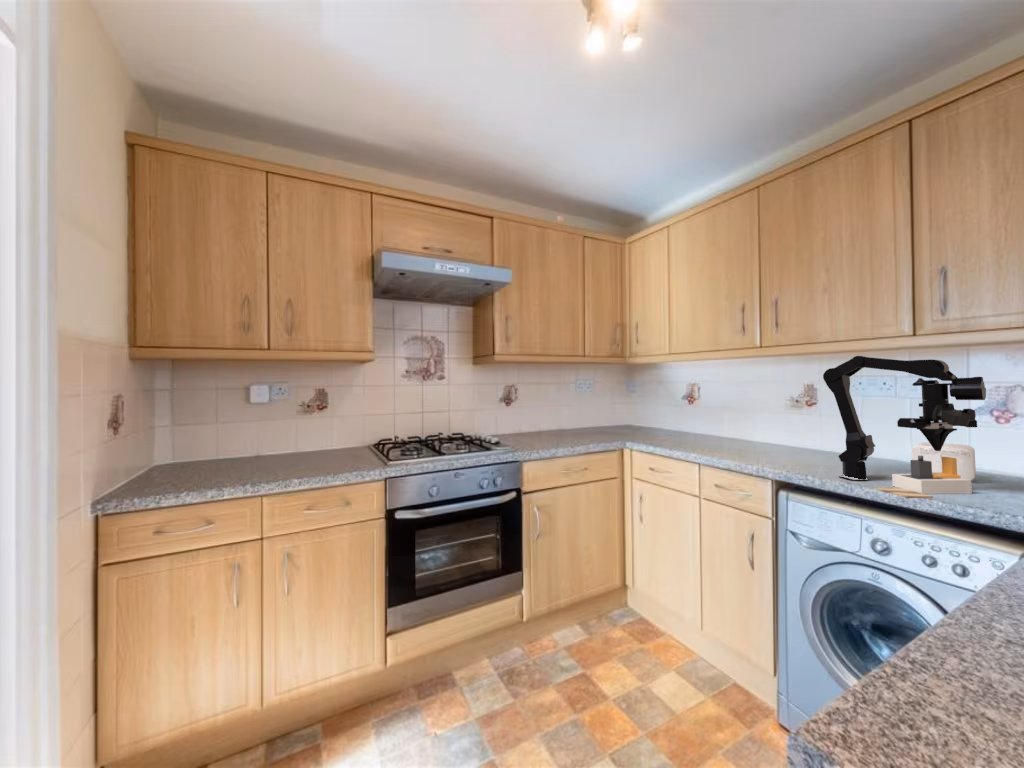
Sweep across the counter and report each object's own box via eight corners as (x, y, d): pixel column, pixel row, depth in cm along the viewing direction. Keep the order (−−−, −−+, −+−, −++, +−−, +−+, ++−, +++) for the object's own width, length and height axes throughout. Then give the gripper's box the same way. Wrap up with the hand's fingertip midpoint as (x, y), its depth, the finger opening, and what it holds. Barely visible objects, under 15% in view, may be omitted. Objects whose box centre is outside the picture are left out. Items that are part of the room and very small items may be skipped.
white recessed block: (892, 486, 133) (892, 474, 133) (938, 486, 132) (938, 473, 132) (921, 494, 123) (921, 480, 123) (971, 493, 122) (971, 480, 122)
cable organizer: (980, 480, 140) (978, 445, 140) (974, 484, 134) (972, 448, 134) (918, 473, 152) (917, 441, 153) (911, 477, 146) (909, 444, 147)
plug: (901, 478, 131) (900, 454, 131) (924, 478, 130) (923, 454, 131) (918, 482, 125) (917, 457, 125) (943, 482, 124) (942, 457, 125)
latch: (921, 475, 130) (920, 456, 130) (944, 474, 130) (943, 456, 130) (936, 478, 125) (935, 458, 125) (960, 478, 125) (959, 458, 125)
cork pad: (875, 489, 130) (875, 487, 130) (899, 489, 129) (899, 487, 129) (907, 497, 119) (906, 496, 119) (932, 497, 118) (932, 496, 118)
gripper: (928, 401, 120) (930, 454, 120) (996, 399, 119) (999, 454, 119) (894, 400, 132) (897, 449, 131) (956, 399, 130) (959, 449, 130)
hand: (937, 450), depth 127 cm, fingers closed
